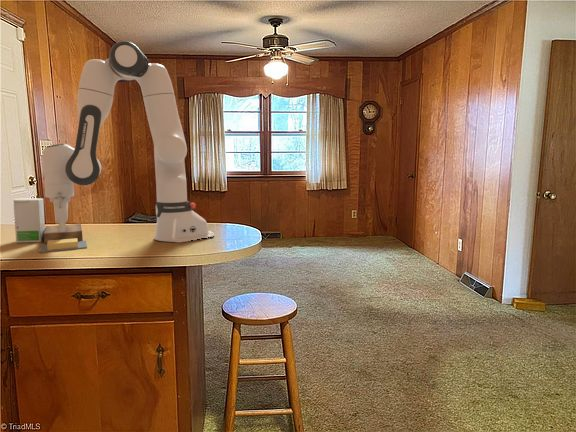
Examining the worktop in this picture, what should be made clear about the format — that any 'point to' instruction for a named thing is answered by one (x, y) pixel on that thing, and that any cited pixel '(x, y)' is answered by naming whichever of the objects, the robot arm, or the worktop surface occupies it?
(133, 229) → the worktop surface
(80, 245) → the mat
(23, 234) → the skincare box
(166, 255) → the worktop surface
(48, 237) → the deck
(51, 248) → the yellow rectangular block
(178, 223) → the robot arm
